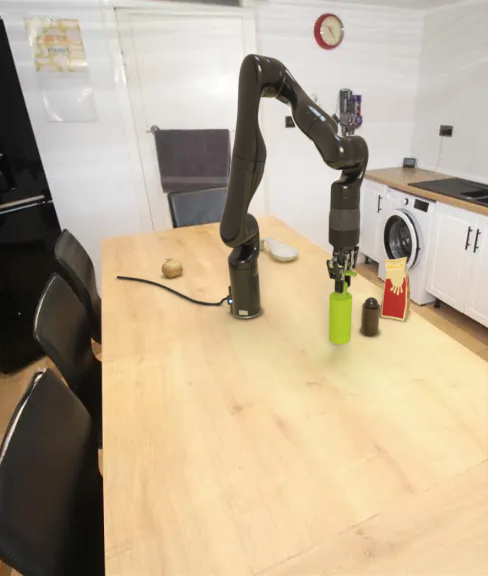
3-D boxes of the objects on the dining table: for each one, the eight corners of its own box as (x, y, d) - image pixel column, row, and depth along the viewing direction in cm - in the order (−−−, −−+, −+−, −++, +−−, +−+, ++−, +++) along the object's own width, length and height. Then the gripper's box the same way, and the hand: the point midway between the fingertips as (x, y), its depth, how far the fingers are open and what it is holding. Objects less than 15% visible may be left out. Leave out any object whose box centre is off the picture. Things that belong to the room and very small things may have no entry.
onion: (186, 272, 166) (184, 255, 163) (178, 280, 159) (176, 263, 156) (167, 271, 167) (165, 255, 164) (159, 279, 159) (155, 262, 156)
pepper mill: (358, 333, 123) (359, 299, 118) (365, 325, 128) (367, 292, 123) (374, 338, 121) (376, 303, 116) (380, 330, 125) (383, 296, 120)
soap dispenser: (352, 345, 108) (355, 277, 100) (327, 343, 110) (327, 274, 101) (355, 334, 114) (358, 268, 105) (331, 331, 115) (332, 265, 106)
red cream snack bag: (409, 308, 138) (415, 252, 129) (405, 321, 130) (411, 263, 121) (382, 304, 140) (386, 249, 132) (376, 316, 133) (380, 259, 124)
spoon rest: (304, 259, 179) (304, 243, 176) (284, 266, 171) (284, 250, 168) (268, 246, 193) (267, 232, 190) (248, 253, 185) (247, 238, 182)
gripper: (343, 215, 105) (342, 276, 112) (315, 229, 94) (316, 296, 101) (370, 219, 101) (367, 282, 109) (344, 234, 90) (343, 303, 98)
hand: (342, 289), depth 105 cm, fingers closed on soap dispenser, 3 cm apart
